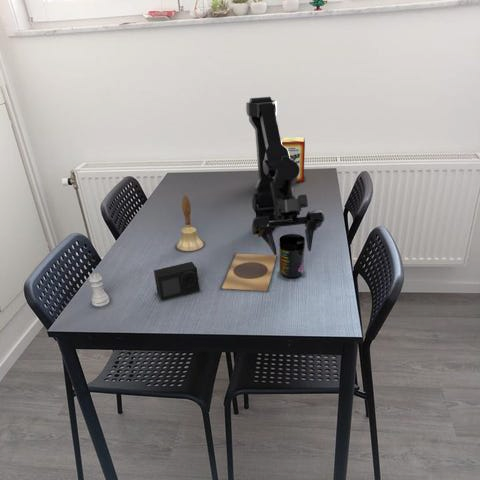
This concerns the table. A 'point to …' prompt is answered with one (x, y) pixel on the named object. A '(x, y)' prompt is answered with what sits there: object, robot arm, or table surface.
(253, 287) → the placemat
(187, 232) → the hand bell
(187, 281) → the digital camera
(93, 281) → the rook chess piece
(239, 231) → the table surface
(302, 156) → the baking soda box
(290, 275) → the supplement container
